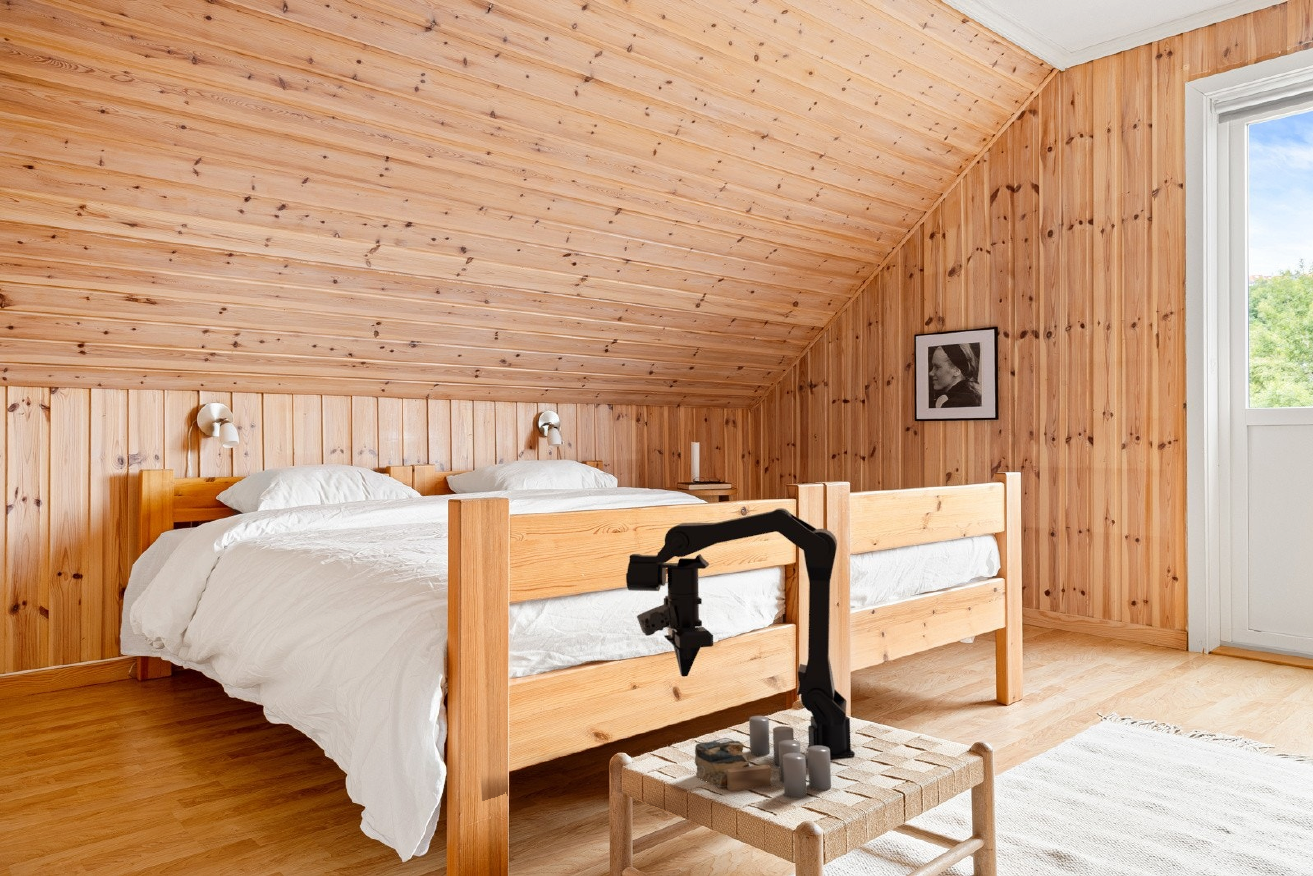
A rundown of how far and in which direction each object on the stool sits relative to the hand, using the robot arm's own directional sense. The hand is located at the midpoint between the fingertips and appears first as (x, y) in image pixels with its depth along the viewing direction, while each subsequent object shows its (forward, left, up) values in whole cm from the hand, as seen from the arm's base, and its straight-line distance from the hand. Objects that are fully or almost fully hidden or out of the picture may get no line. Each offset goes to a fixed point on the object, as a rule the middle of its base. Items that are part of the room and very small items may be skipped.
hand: (684, 676), depth 166 cm
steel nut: (-19, +16, -13) cm, 28 cm away
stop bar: (-5, +22, -13) cm, 26 cm away
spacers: (-13, +17, -13) cm, 25 cm away
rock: (-2, +17, -13) cm, 21 cm away
